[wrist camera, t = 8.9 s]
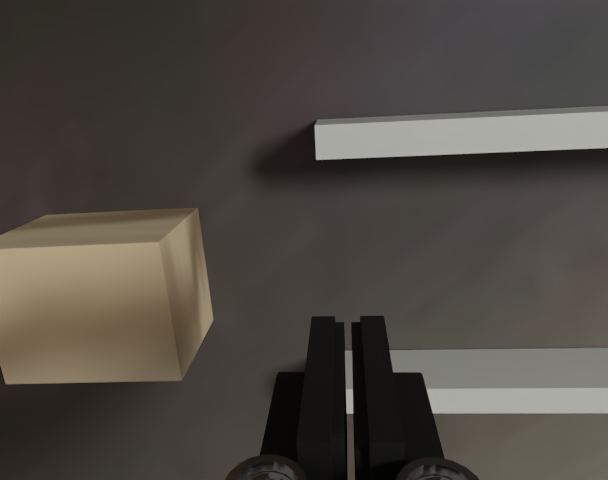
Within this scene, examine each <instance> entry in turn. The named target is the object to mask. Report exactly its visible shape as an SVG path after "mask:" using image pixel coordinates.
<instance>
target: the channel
mask: <svg viewBox="0 0 608 480" xmlns="http://www.w3.org/2000/svg"><path fill="white" fill-rule="evenodd" d="M315 148H316V160H329V159H353V158H377V157H401V156H425V155H449V154H474V153H498V152H522V151H546V150H570V149H594V148H608V106H593V107H572V108H551V109H530V110H509V111H488V112H467V113H446V114H426V115H405V116H384V117H363V118H342V119H321V120H317V122H316V124H315ZM389 351H390V357H391V363H392V369H393V372H421V373H422V375H423V378H424V382H425V386H426V390H427V393H428V397H429V401H430V405H431V409H432V413H608V348H544V349H454V350H389ZM345 375H346V412H347V413H353V373H352V351H345Z"/></svg>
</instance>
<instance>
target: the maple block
mask: <svg viewBox="0 0 608 480" xmlns="http://www.w3.org/2000/svg"><path fill="white" fill-rule="evenodd" d="M212 322H213V314H212V307H211V300H210V292H209V285H208V278H207V270H206V263H205V256H204V249H203V241H202V234H201V227H200V219H199V212H198V208H179V209H159V210H139V211H118V212H98V213H77V214H57V215H45V216H43V217H40V218H38V219H36V220H34V221H31V222H29V223H27V224H25V225H22V226H20V227H18V228H16V229H13V230H11V231H9V232H7V233H4V234H2V235H0V366H1V370H2V373H3V376H4V380H5V383H6V384H43V383H92V382H142V381H182V379H183V377H184V376H185V374H186V372H187V370H188V368H189V366H190V364H191V362H192V360H193V358H194V356H195V354H196V352H197V351H198V349H199V347H200V345H201V343H202V341H203V339H204V337H205V335H206V333H207V331H208V329H209V327H210V326H211V324H212Z"/></svg>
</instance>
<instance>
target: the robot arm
mask: <svg viewBox="0 0 608 480" xmlns="http://www.w3.org/2000/svg"><path fill="white" fill-rule="evenodd" d="M351 325H352V373H353V420H354V454H355V480H479V479H478V477H477V476H476V475H474V474H473V473H472V472H471V471H470V470H468V469H467V468H466V467H464V466H462V465H460V464H458V463H456V462H454V461H451V460H447V459H445V458H444V455H443V451H442V447H441V443H440V439H439V436H438V432H437V428H436V424H435V420H434V416H433V413H432V409H431V405H430V401H429V397H428V393H427V390H426V386H425V382H424V378H423V375H422V373H421V372H393V369H392V363H391V357H390V351H389V344H388V338H387V332H386V326H385V320H384V316H360V322H351ZM225 480H347V412H346V375H345V338H344V322H335V316H319V317H312V320H311V328H310V336H309V344H308V352H307V360H306V368H305V372H279V373H278V374H277V378H276V382H275V387H274V392H273V396H272V401H271V406H270V410H269V415H268V419H267V424H266V429H265V433H264V438H263V443H262V447H261V452H260V456H255V457H251V458H249V459H247V460H245V461H243V462H241V463H239V464H238V465H237V466H236V467H235V468H234V469H232V470H231V471H230V473H229V474H228V475H227V477H226V478H225Z"/></svg>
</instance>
